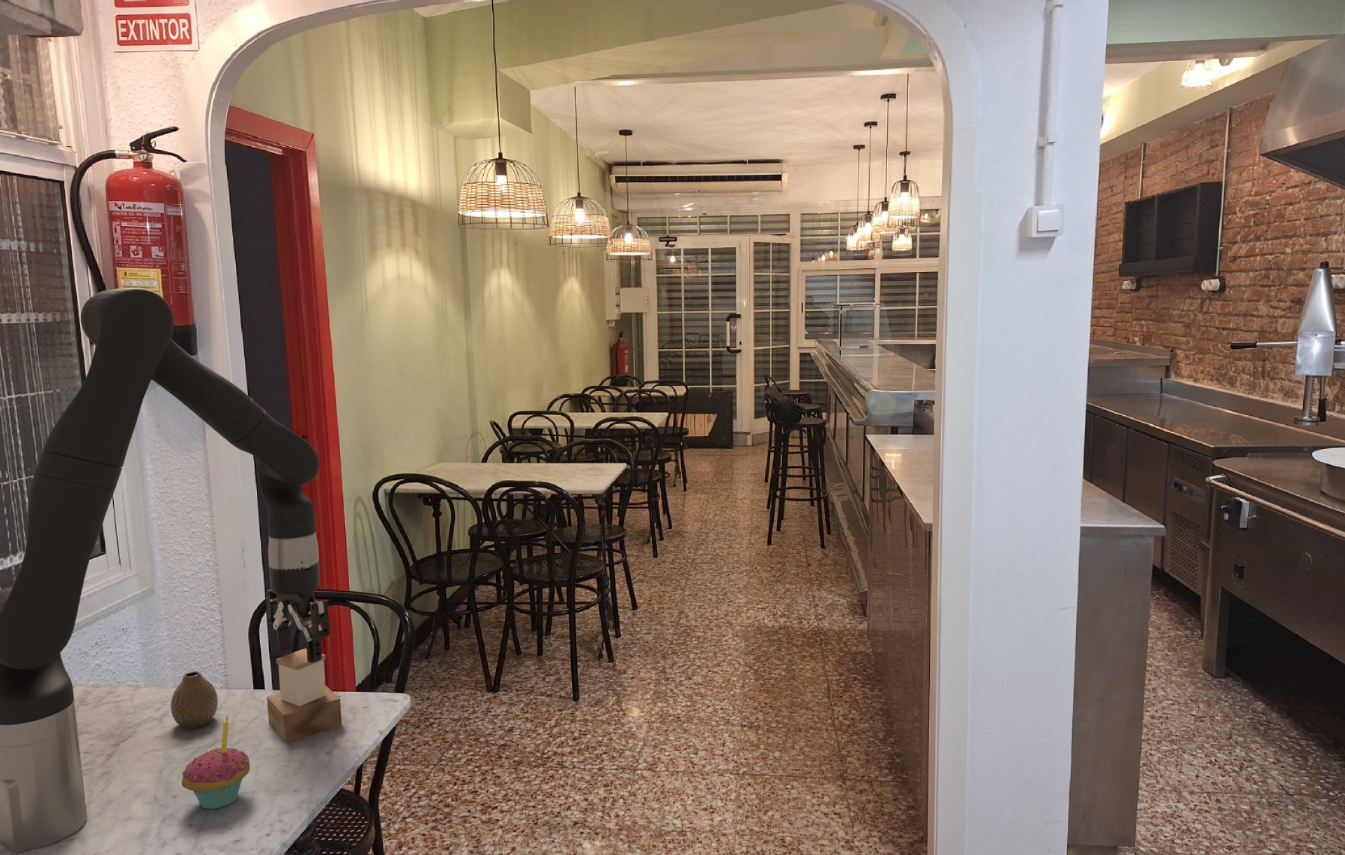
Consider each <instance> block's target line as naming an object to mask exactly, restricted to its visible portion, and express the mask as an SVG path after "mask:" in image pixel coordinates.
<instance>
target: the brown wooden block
mask: <svg viewBox="0 0 1345 855" xmlns="http://www.w3.org/2000/svg"><path fill="white" fill-rule="evenodd" d="M325 691H326V695H325V696H323V697H320V698H318V699H316V700H313V701H311V702H309V703H306V704H304V705H302V706H297V705H294V704H291V703H289V702H286V701H283V700H281V696H280V692H279V693H275V694H272V695H268V696H266V701H267V702H266V704H267V715H268V724H269V726H271V728H272V729H273V730H274V731H275V732H276V733H277V735H278V736H279V737H280V739H281V740H283V742H284V743H285V744H287V743H291V742H294V741H296V740H300V739H303V738H306V737H309V736H313V735H315V734H319V733H321V732H322V733H323V732H325V731H328V730H330V729H334V728H337V727H341V726H343V723H342V707H341V698H340V697H339V696H338V695H337V694H335V693H334V692H333V691H332V690H331V689H330V688H329V687H328V686H327V685H326V684H325Z"/></svg>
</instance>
